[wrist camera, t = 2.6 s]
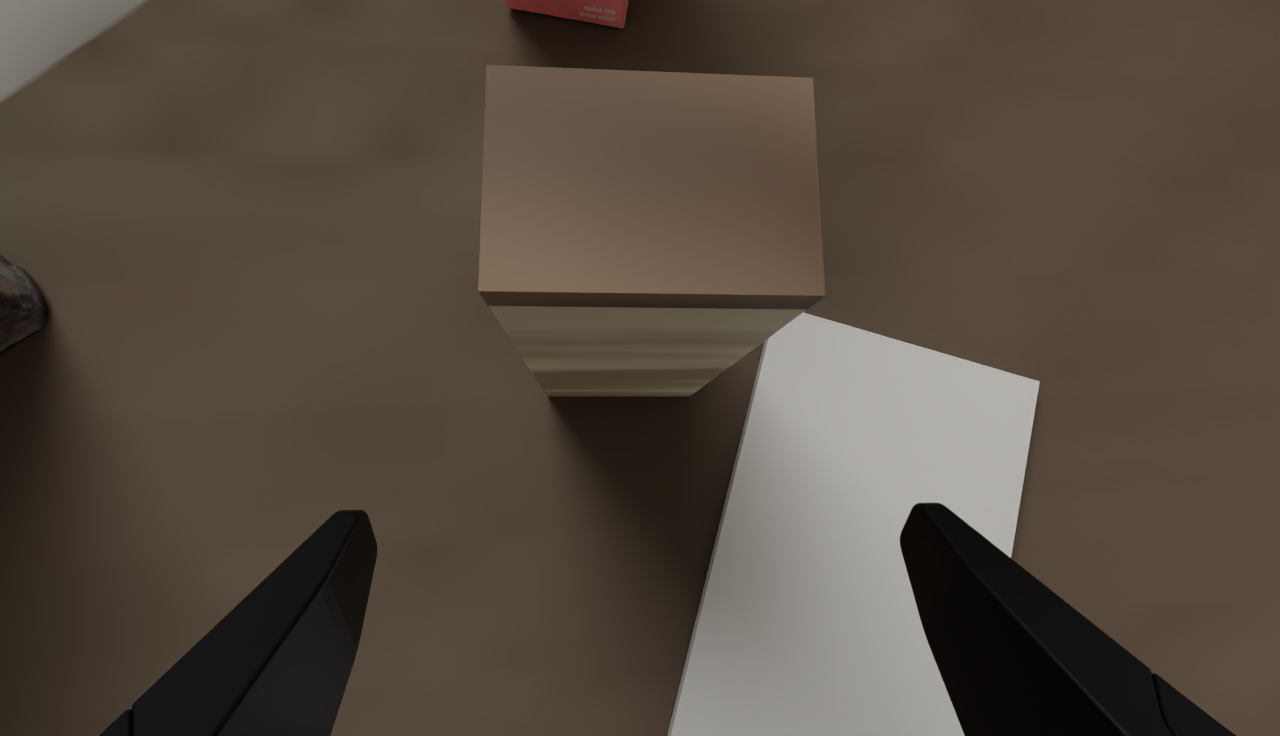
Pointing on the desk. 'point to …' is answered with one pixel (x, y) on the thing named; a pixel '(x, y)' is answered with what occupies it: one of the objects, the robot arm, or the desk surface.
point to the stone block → (18, 305)
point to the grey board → (845, 534)
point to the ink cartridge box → (578, 10)
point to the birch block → (646, 222)
